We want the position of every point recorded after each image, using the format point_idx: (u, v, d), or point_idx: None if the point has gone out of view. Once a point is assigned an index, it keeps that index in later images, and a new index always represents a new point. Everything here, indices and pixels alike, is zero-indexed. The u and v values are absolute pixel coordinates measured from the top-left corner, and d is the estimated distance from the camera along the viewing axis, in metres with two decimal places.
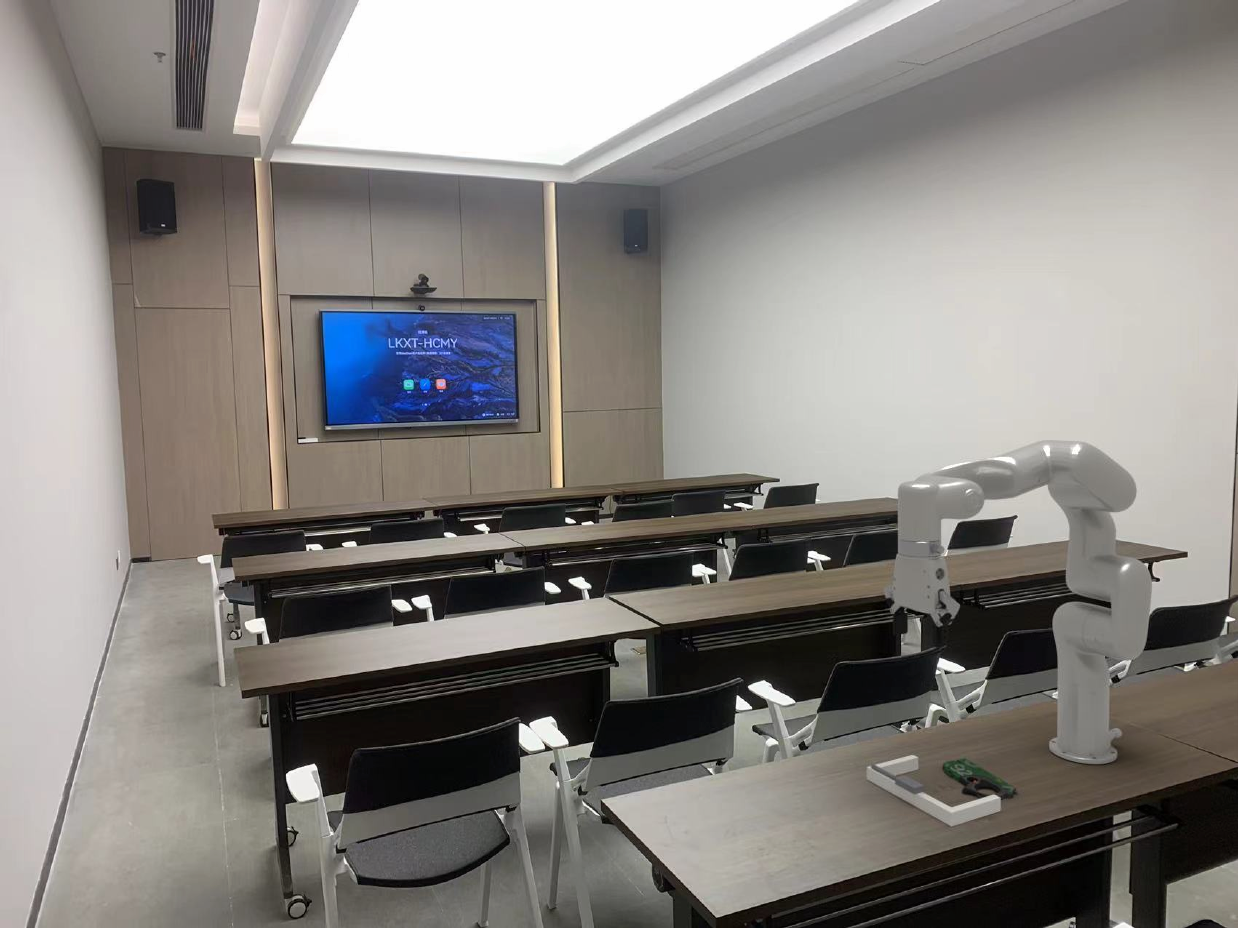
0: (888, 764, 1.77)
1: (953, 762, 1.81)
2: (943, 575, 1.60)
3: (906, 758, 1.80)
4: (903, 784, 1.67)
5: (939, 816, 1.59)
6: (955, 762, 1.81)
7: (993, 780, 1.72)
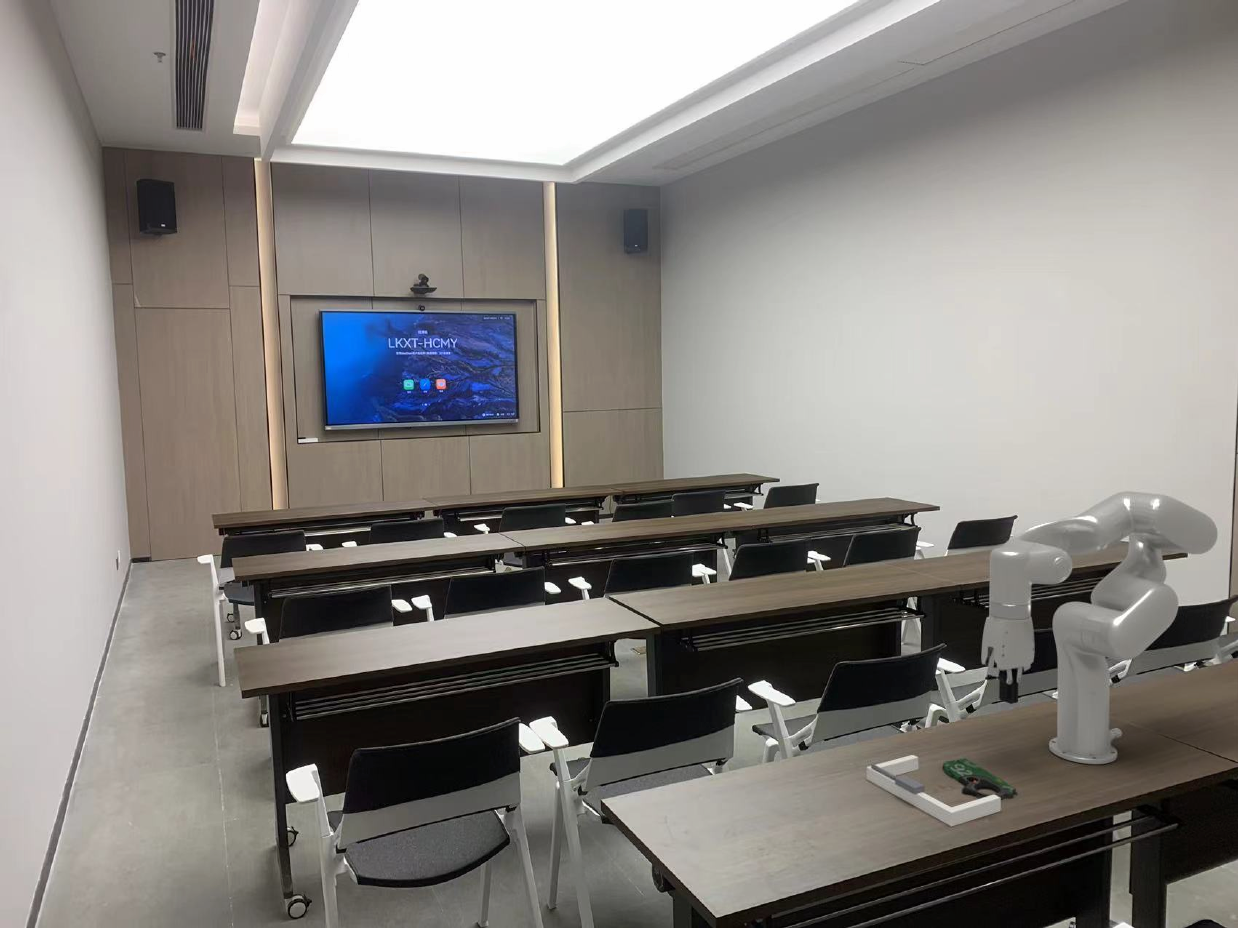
0: (888, 764, 1.77)
1: (953, 762, 1.81)
2: None
3: (906, 758, 1.80)
4: (903, 784, 1.67)
5: (939, 816, 1.59)
6: (955, 762, 1.81)
7: (993, 780, 1.72)
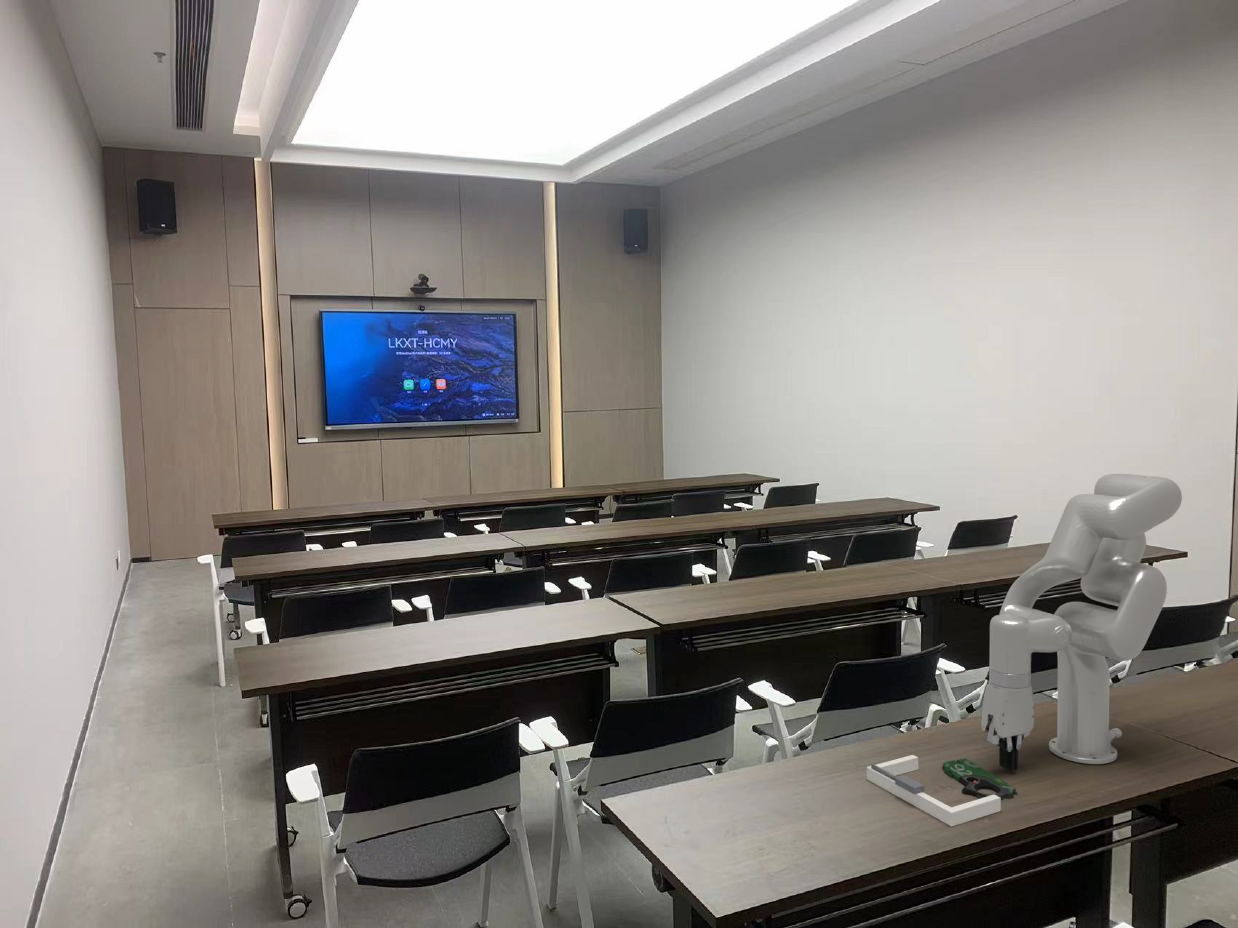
0: (888, 764, 1.77)
1: (953, 762, 1.81)
2: None
3: (906, 758, 1.80)
4: (903, 784, 1.67)
5: (939, 816, 1.59)
6: (955, 762, 1.81)
7: (993, 780, 1.72)
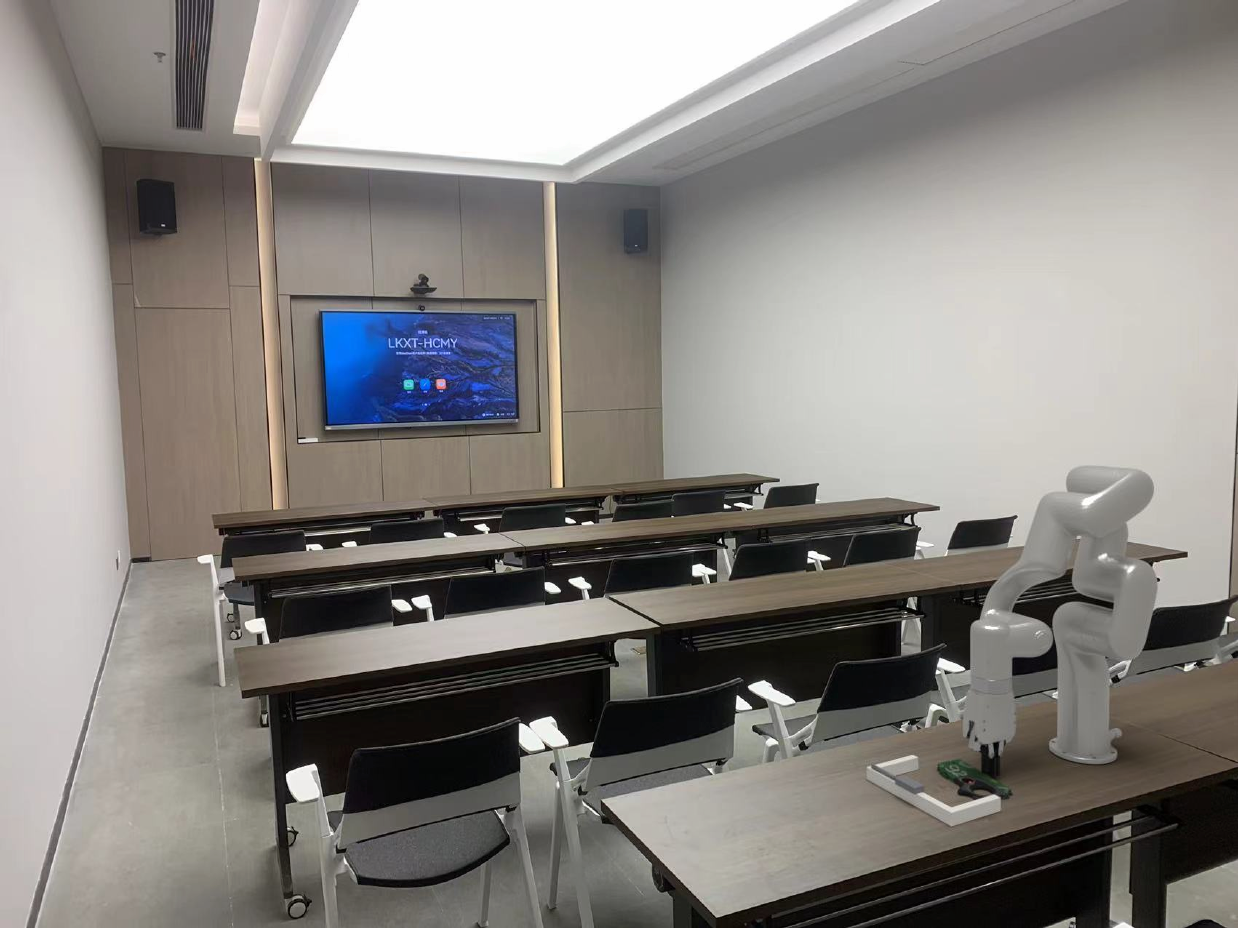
0: (888, 764, 1.77)
1: (948, 763, 1.80)
2: None
3: (906, 758, 1.80)
4: (903, 784, 1.67)
5: (939, 816, 1.59)
6: (950, 763, 1.80)
7: (988, 781, 1.72)
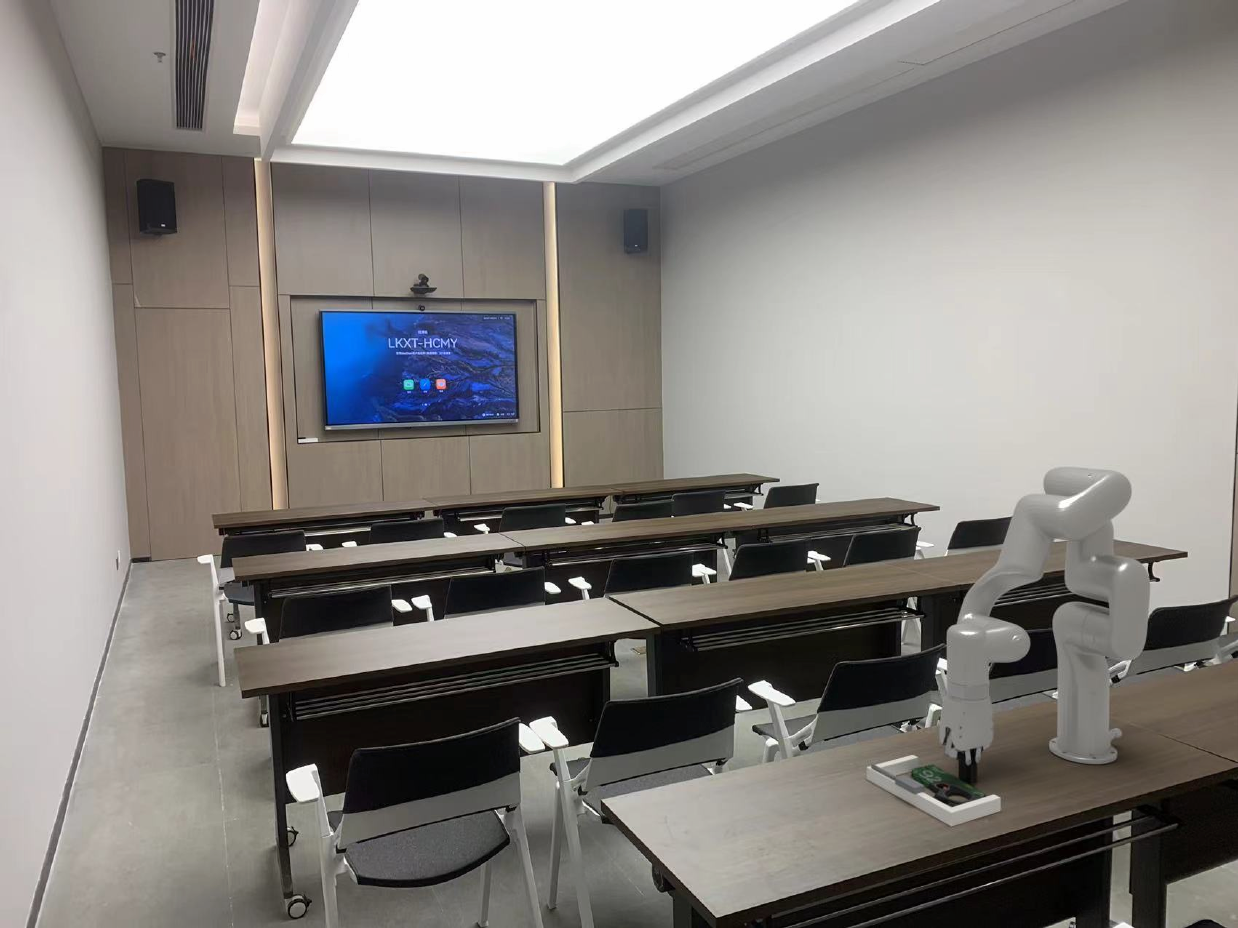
0: (888, 764, 1.77)
1: (921, 768, 1.78)
2: None
3: (906, 758, 1.80)
4: (903, 784, 1.67)
5: (939, 816, 1.59)
6: (923, 768, 1.78)
7: (963, 786, 1.70)
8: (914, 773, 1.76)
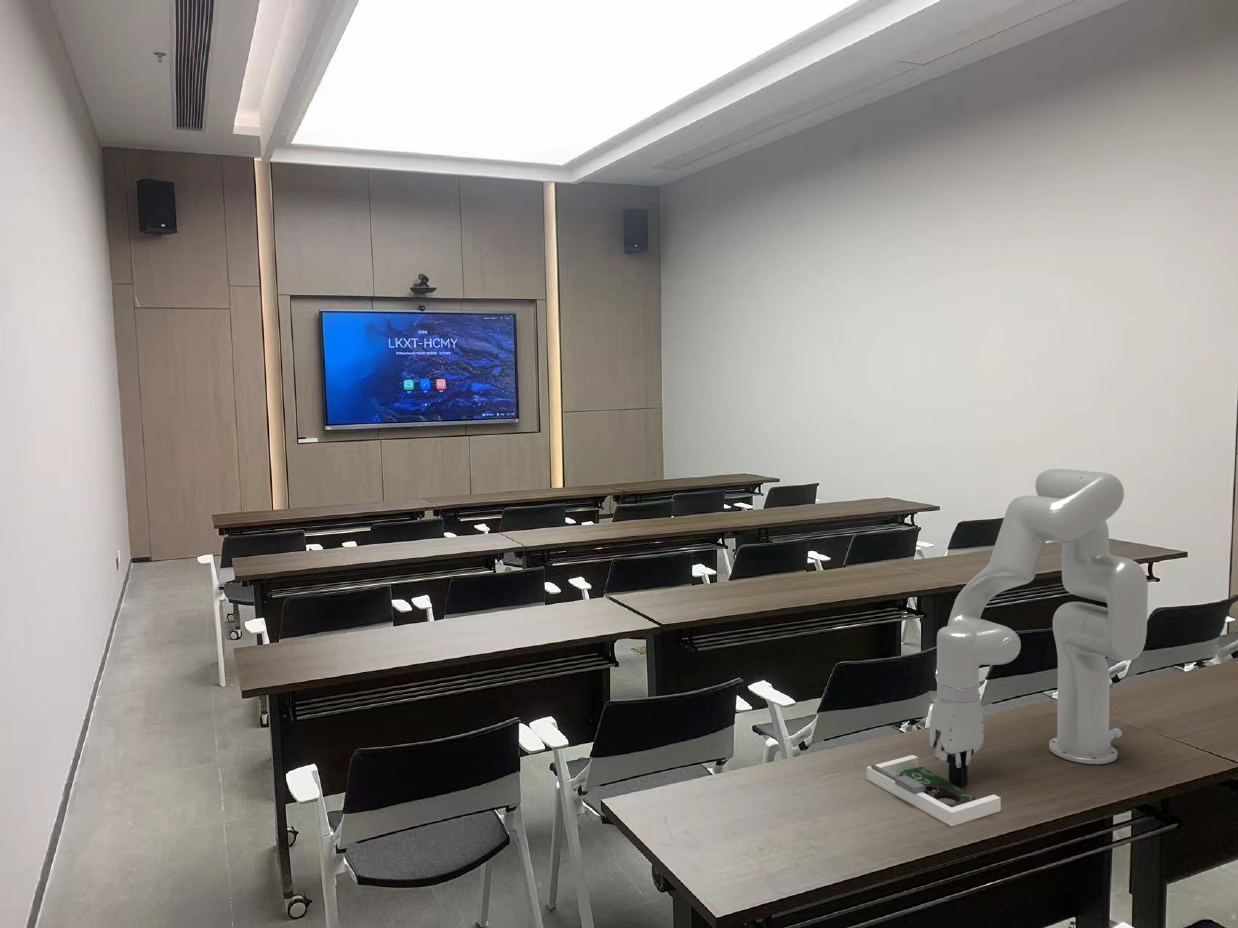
0: (888, 764, 1.77)
1: (910, 771, 1.77)
2: None
3: (906, 758, 1.80)
4: (903, 784, 1.67)
5: (939, 816, 1.59)
6: (912, 771, 1.77)
7: (952, 788, 1.69)
8: None
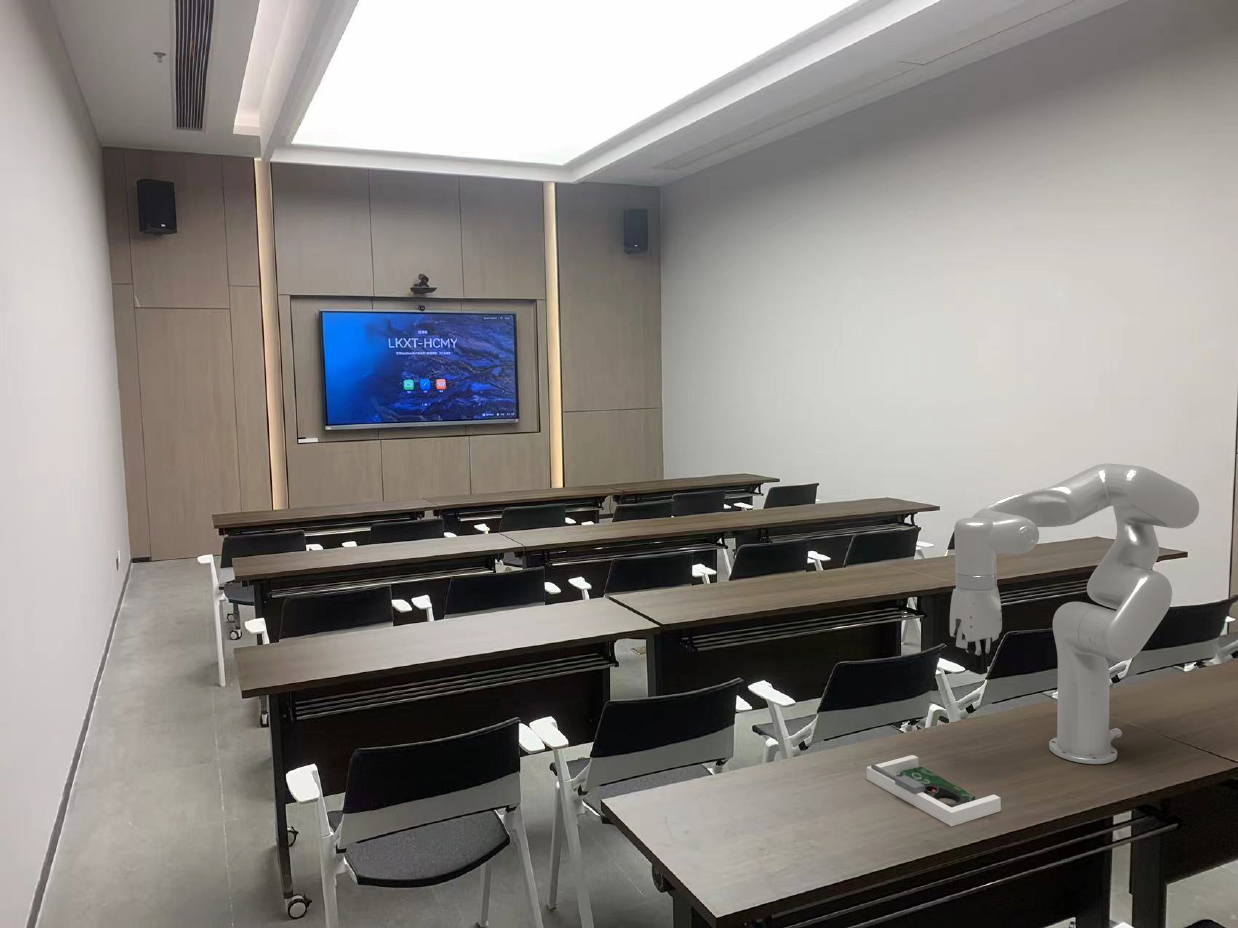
0: (888, 764, 1.77)
1: (910, 771, 1.77)
2: None
3: (906, 758, 1.80)
4: (903, 784, 1.67)
5: (939, 816, 1.59)
6: (912, 771, 1.77)
7: (951, 788, 1.69)
8: None
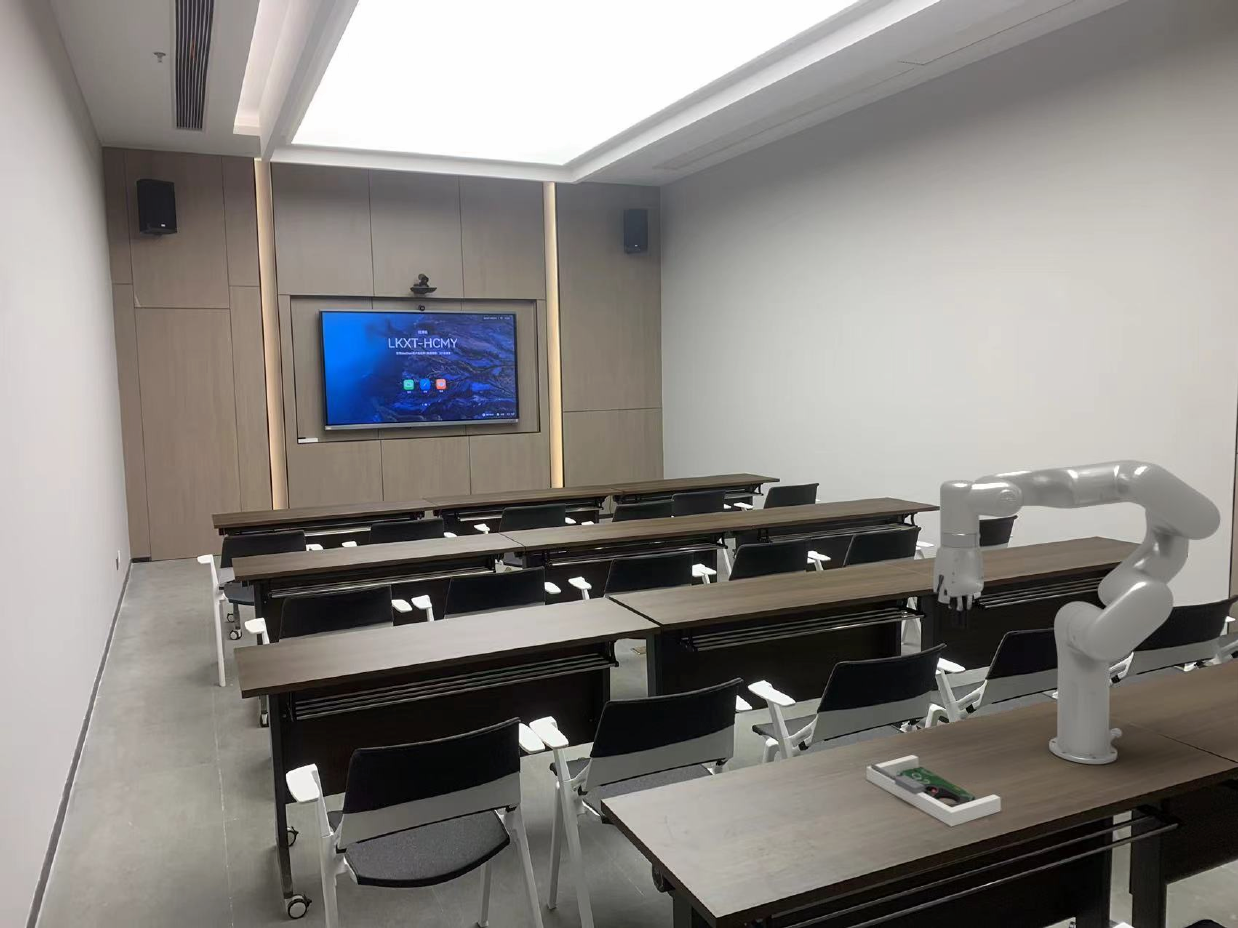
0: (888, 764, 1.77)
1: (910, 771, 1.77)
2: None
3: (906, 758, 1.80)
4: (903, 784, 1.67)
5: (939, 816, 1.59)
6: (912, 771, 1.77)
7: (951, 789, 1.69)
8: None
